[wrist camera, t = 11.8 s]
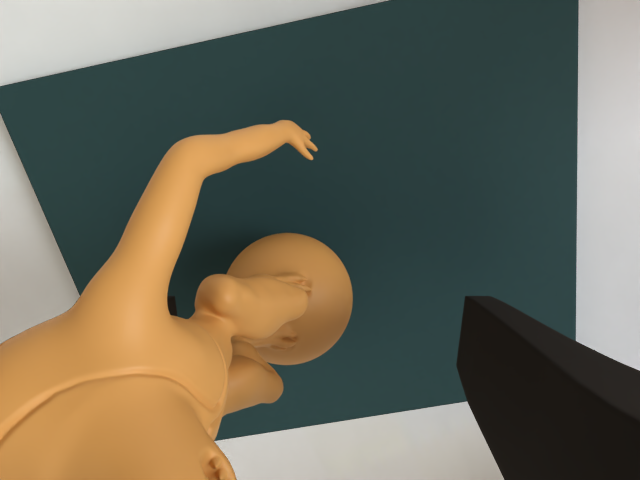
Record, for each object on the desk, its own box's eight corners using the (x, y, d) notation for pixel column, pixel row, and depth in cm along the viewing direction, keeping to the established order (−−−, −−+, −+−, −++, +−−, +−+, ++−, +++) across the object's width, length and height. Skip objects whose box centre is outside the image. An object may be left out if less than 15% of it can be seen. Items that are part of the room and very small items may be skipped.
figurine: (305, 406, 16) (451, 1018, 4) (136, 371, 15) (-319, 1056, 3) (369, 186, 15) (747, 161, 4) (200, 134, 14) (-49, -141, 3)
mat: (568, -37, 13) (579, -42, 12) (567, 375, 18) (575, 385, 17) (1, 88, 14) (-11, 88, 14) (152, 441, 19) (147, 451, 19)
